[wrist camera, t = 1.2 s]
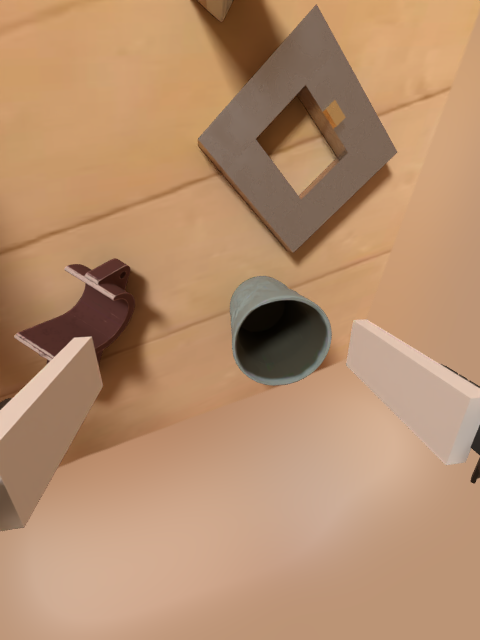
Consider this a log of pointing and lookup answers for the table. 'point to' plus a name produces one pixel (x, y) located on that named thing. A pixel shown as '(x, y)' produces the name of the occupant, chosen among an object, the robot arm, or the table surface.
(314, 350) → the embossed green cup
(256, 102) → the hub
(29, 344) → the bracket
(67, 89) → the table surface
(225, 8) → the box
